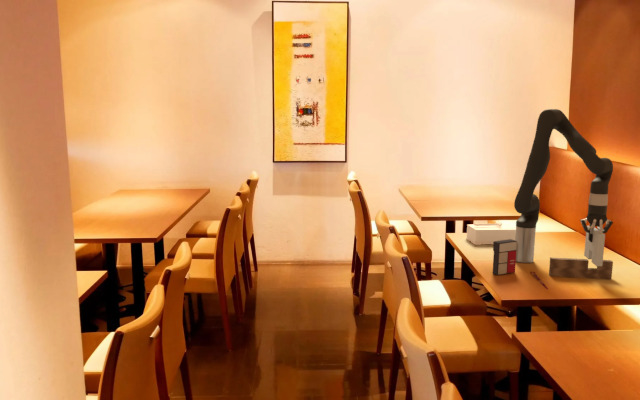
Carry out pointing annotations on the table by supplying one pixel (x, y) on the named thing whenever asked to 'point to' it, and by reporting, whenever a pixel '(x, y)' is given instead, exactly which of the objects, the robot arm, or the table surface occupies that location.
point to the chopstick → (538, 279)
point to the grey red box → (504, 256)
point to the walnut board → (579, 268)
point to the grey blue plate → (595, 247)
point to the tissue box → (490, 232)
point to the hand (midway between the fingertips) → (594, 241)
